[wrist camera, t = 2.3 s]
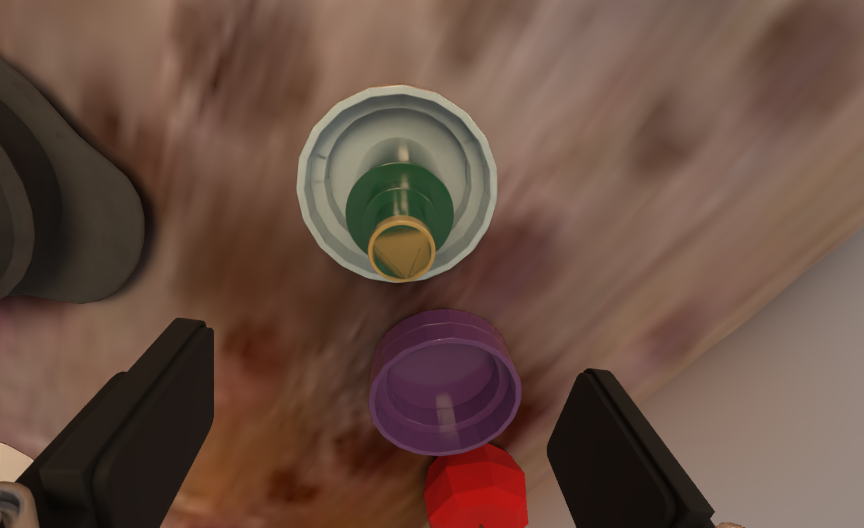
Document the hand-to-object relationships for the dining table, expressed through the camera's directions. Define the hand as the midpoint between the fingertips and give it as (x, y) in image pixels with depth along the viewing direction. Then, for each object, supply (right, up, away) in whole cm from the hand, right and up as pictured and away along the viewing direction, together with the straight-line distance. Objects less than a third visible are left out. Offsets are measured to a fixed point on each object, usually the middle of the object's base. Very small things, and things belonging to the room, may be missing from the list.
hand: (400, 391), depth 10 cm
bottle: (-2, +10, +20) cm, 22 cm away
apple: (+5, -18, +35) cm, 40 cm away
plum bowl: (+2, -6, +29) cm, 29 cm away
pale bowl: (-2, +10, +21) cm, 23 cm away
